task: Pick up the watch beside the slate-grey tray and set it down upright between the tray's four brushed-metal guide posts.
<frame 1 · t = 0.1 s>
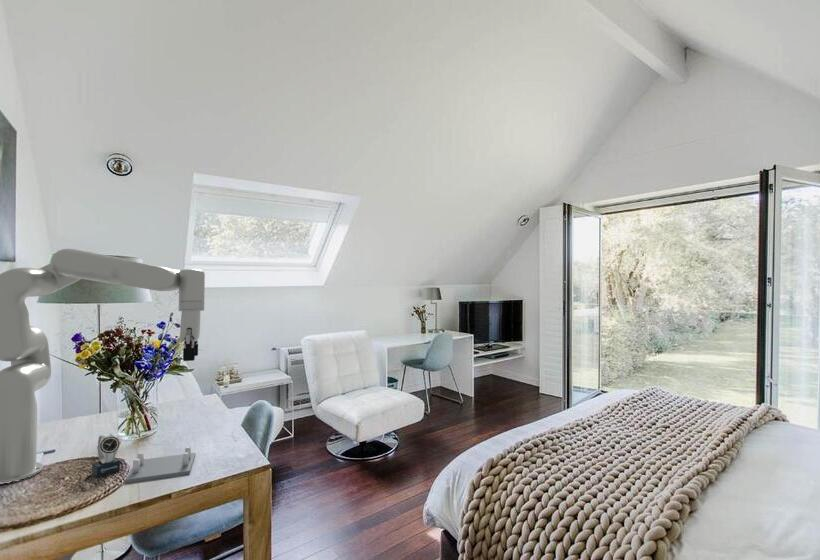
hand: (190, 358, 135), 31 cm above the table, tool pointing down, fingers open, 9 cm apart
watch: (106, 473, 120), on the table
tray: (162, 468, 123), on the table
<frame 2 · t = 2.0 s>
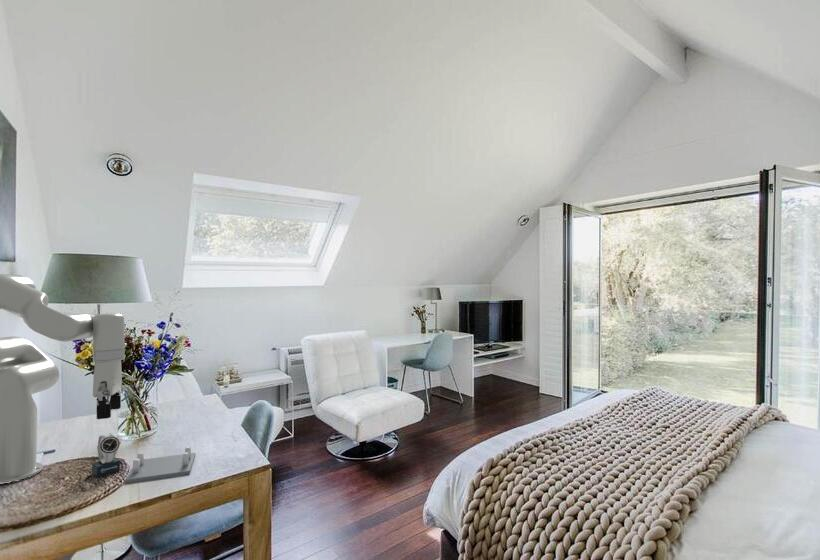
hand: (109, 413, 121), 17 cm above the table, tool pointing down, fingers open, 9 cm apart
nothing on the table moved.
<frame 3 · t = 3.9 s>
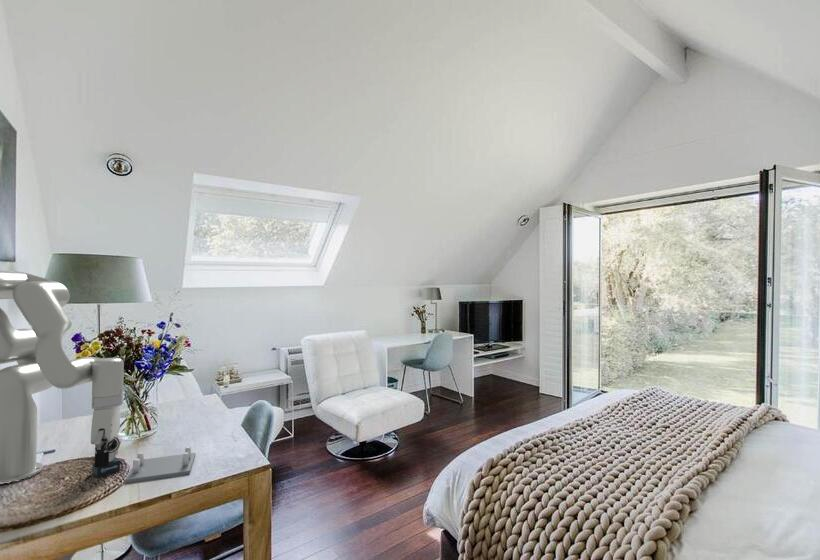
hand: (106, 460, 121), 4 cm above the table, tool pointing down, fingers closed on watch, 8 cm apart
watch: (106, 473, 120), on the table, touching gripper
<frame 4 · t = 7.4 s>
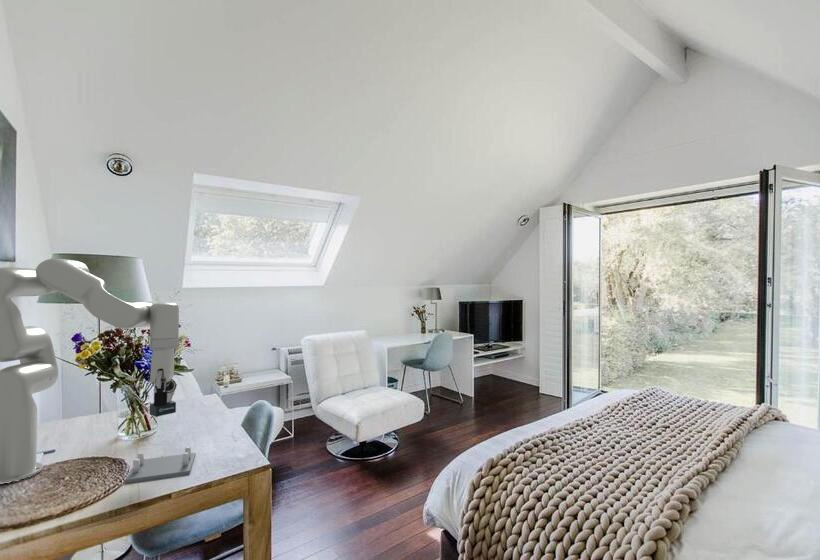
hand: (163, 401, 124), 20 cm above the table, tool pointing down, fingers closed on watch, 8 cm apart
watch: (163, 413, 124), point 16 cm above the table, touching gripper
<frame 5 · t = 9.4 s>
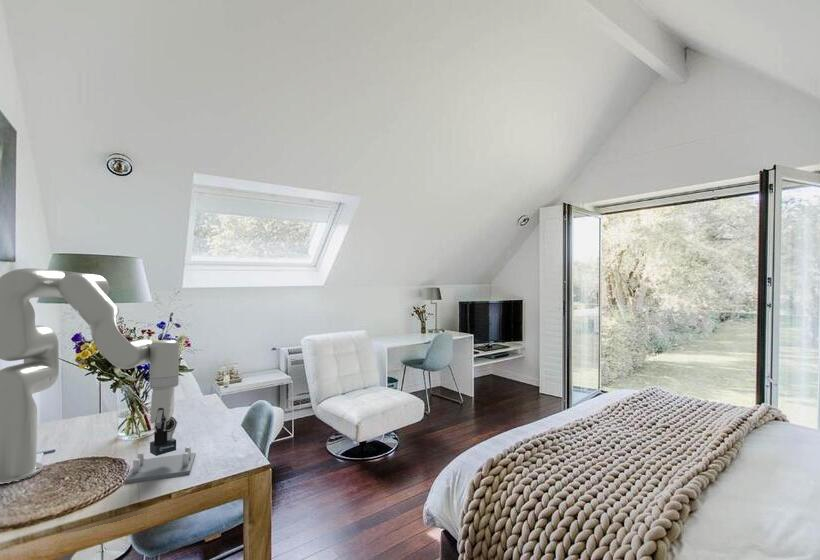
hand: (163, 439, 123), 9 cm above the table, tool pointing down, fingers closed on watch, 8 cm apart
watch: (163, 452, 123), point 5 cm above the table, touching gripper
when the fingers open (6 cm above the table, at t = 11.0 s): watch drops 2 cm, resting on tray.
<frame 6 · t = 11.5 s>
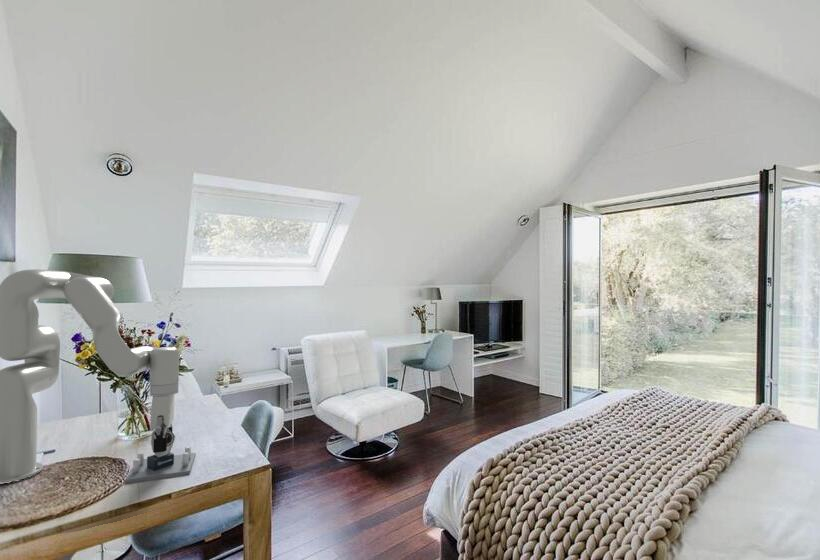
hand: (163, 445, 123), 7 cm above the table, tool pointing down, fingers open, 9 cm apart
watch: (160, 466, 123), point 1 cm above the table, touching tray
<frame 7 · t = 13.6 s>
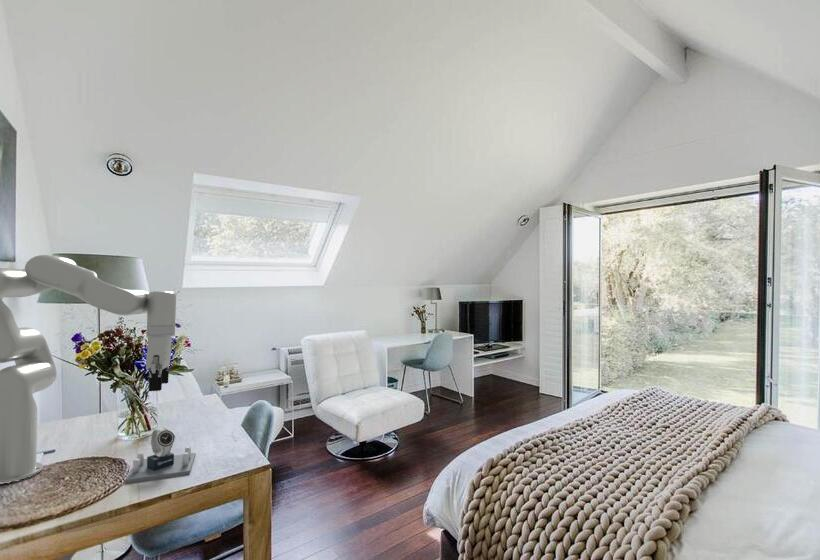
hand: (158, 386, 126), 24 cm above the table, tool pointing down, fingers open, 9 cm apart
nothing on the table moved.
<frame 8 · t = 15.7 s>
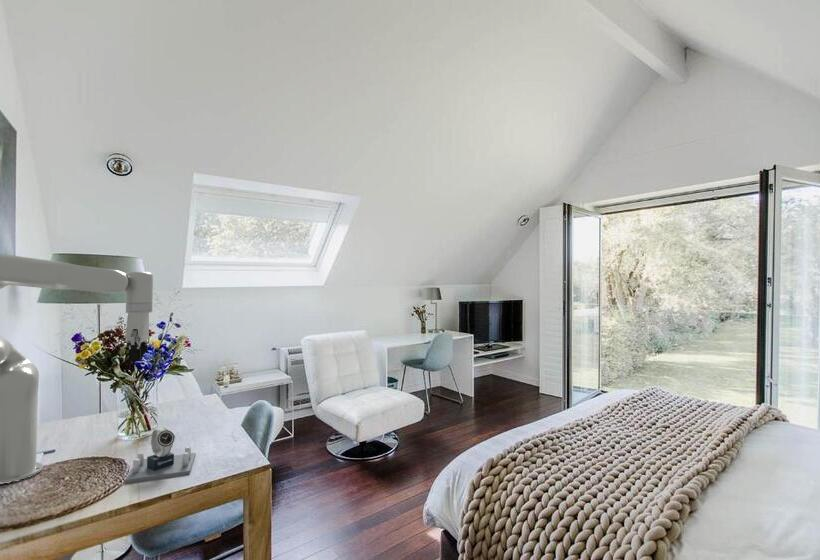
hand: (138, 358, 138), 30 cm above the table, tool pointing down, fingers open, 9 cm apart
nothing on the table moved.
at the end: watch 0.6 cm off-centre on the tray, point 0.8 cm above the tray's base; watch tilted 0°; the gripper is holding nothing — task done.
